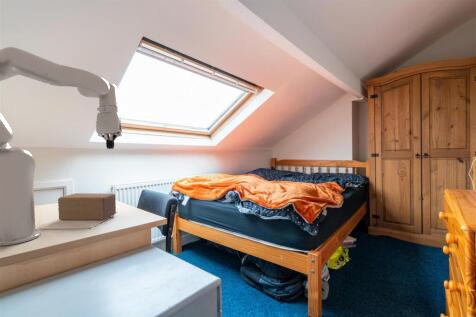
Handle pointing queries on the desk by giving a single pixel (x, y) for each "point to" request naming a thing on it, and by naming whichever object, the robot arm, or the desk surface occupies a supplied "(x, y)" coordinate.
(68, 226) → the mat
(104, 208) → the block
